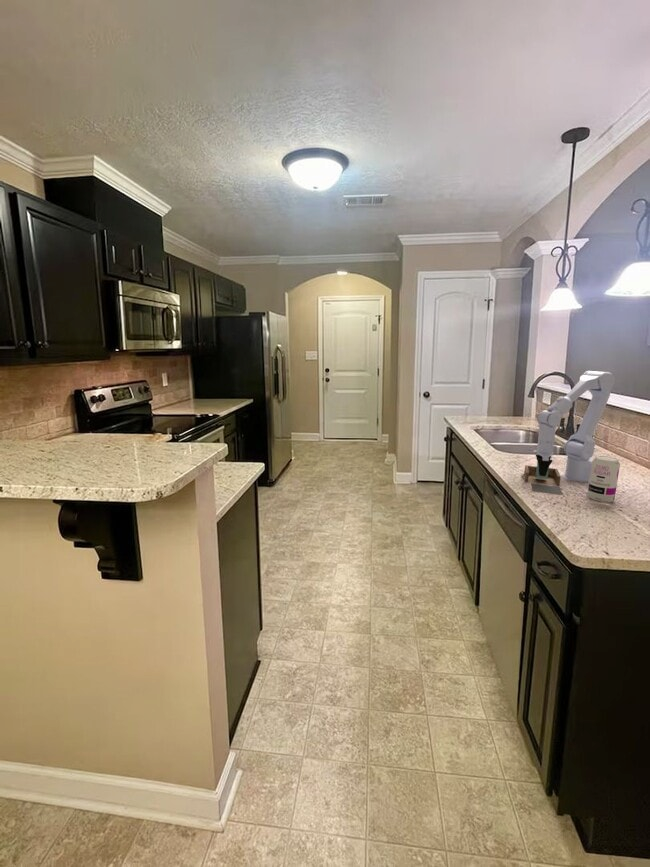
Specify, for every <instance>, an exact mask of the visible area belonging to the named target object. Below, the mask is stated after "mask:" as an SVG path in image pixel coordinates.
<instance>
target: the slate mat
mask: <svg viewBox="0 0 650 867" xmlns="http://www.w3.org/2000/svg"><path fill="white" fill-rule="evenodd" d="M531 489H532V490H531V491H532V492H534V493H536V492H537V493H543V494H552V495H559V496H564V494H563V492H562V489H561V486H557V485H549V484H540V483H531Z"/></svg>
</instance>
